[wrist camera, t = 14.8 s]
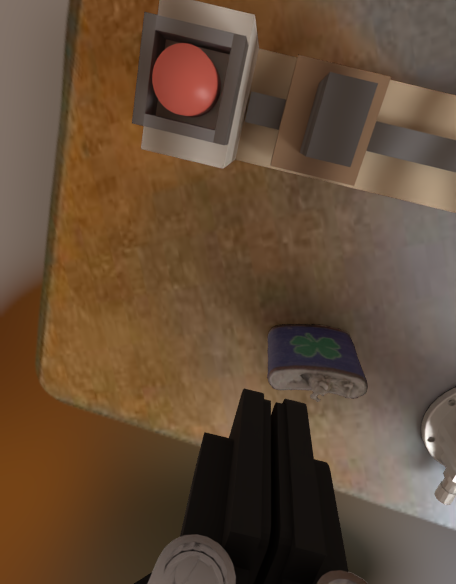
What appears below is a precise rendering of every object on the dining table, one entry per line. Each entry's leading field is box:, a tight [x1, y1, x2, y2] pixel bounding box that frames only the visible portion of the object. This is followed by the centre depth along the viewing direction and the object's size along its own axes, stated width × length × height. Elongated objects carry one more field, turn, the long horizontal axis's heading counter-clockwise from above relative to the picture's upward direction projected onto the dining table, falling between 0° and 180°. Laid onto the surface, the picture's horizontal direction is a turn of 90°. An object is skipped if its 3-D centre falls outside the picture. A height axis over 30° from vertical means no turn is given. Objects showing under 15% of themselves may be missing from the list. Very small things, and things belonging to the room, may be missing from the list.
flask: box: [267, 324, 367, 402], centre depth 39 cm, size 9×3×11 cm, turn 87°
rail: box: [132, 0, 456, 213], centre depth 29 cm, size 29×9×14 cm, turn 78°
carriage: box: [270, 55, 391, 186], centre depth 29 cm, size 7×8×9 cm
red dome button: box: [152, 43, 221, 117], centre depth 23 cm, size 4×4×3 cm
